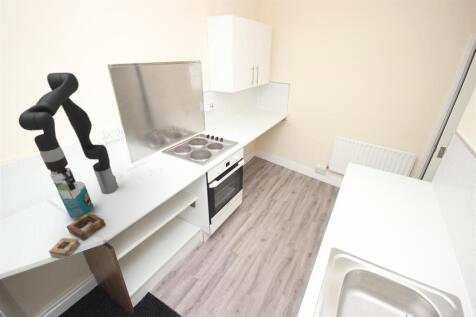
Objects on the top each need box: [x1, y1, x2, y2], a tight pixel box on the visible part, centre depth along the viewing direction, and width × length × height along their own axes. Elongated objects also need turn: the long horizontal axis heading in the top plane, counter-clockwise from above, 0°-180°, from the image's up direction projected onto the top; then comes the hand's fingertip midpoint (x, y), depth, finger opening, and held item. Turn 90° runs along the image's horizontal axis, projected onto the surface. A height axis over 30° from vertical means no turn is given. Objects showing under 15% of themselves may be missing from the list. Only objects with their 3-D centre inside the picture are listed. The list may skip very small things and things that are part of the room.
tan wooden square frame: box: [48, 237, 81, 259], centre depth 103 cm, size 8×8×4 cm
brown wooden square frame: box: [66, 212, 106, 242], centre depth 115 cm, size 12×12×4 cm
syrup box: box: [49, 167, 81, 200], centre depth 101 cm, size 6×6×14 cm
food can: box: [57, 181, 95, 221], centre depth 122 cm, size 12×12×18 cm
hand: (67, 187), depth 102 cm, fingers closed on syrup box, 7 cm apart
